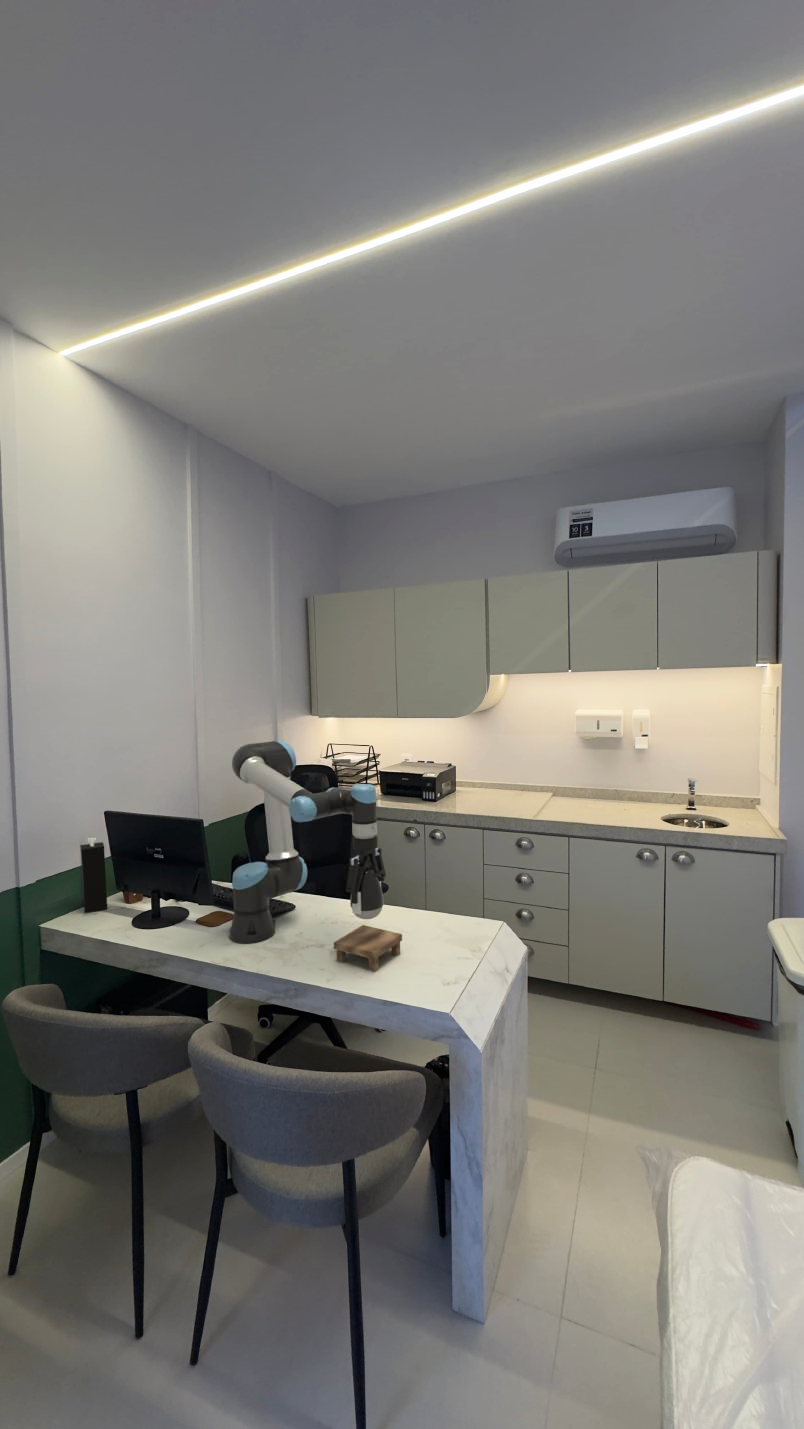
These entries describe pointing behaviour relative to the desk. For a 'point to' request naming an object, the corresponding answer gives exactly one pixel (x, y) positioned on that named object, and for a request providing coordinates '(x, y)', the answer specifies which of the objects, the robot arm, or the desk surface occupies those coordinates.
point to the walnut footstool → (368, 944)
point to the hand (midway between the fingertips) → (367, 907)
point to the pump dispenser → (370, 895)
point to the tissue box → (93, 876)
